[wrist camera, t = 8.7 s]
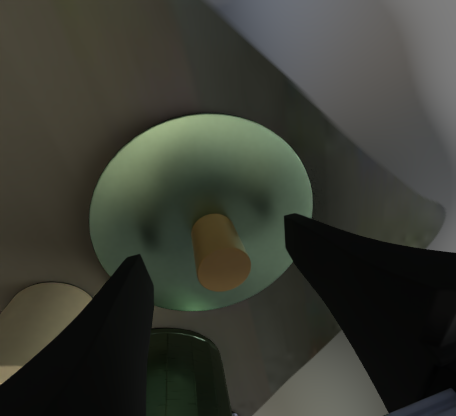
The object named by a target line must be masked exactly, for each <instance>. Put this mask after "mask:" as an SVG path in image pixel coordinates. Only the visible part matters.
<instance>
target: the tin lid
mask: <svg viewBox="0 0 456 416" xmlns="http://www.w3.org/2000/svg"><path fill="white" fill-rule="evenodd" d="M312 208H313V202H312V191H311V186H310V181H309V178H308V175H307V173H306V170H305V168H304V166H303V164H302V162H301V160H300V158H299V157H298V156H297V154H296V153H295V152H294V150H293V149H292V148H291V147H290V146H289V145H288V144H287V143H286V142H285V141H284V140H283V139H282V138H281V137H280V136H278V135H277V134H276V133H274V132H273V131H271V130H270V129H268V128H266V127H264V126H262V125H260V124H258V123H257V122H254V121H251V120H248V119H245V118H242V117H239V116H234V115H228V114H223V113H196V114H187V115H182V116H179V117H175V118H171V119H168V120H165V121H163V122H161V123H158V124H156V125H153V126H151V127H150V128H148V129H146V130H145V131H143V132H141V133H140V134H138V135H136V136H135V137H134V138H133V139H131V140H130V141H129V142H128V143H127V144H125V145H124V146H123V147H122V148H121V149H120V150H119V151H118V152H117V153H116V155H115V156H114V157H113V158H112V159H111V160H110V161H109V163H108V164H107V166H106V167H105V169H104V171H103V172H102V174H101V175H100V177H99V179H98V182H97V184H96V186H95V189H94V191H93V195H92V199H91V203H90V210H89V230H90V237H91V241H92V244H93V248H94V251H95V253H96V255H97V257H98V260H99V262H100V263H101V265H102V266H103V268H104V269H105V271H106V272H107V274H108V275H109V276H110V277H111V276H112V275H113V273H114V272H115V271H116V270H117V268H118V267H119V266H120V265H121V263H122V262H123V261H124V260H125V259H126V258H127V257H130V256H133V255H137V254H140V255H141V257H142V259H143V262H144V264H145V266H146V269H147V271H148V273H149V275H150V278H151V280H152V282H153V285H154V305H155V306H158V307H162V308H166V309H171V310H179V311H205V310H212V309H218V308H222V307H226V306H230V305H232V304H235V303H238V302H241V301H243V300H245V299H247V298H249V297H252V296H253V295H255V294H257V293H258V292H260V291H262V290H263V289H265V288H266V287H267V286H269V285H270V284H272V283H273V282H274V281H275V280H276V279H277V278H279V277H280V276H281V275H282V274H283V273H284V271H285V270H286V269H287V268H288V267H289V266H290V265H291V263H292V262H293V260H292V259H291V257H290V255H289V254H288V252H287V250H286V248H285V230H284V216H285V215H289V214H293V213H297V214H300V215H303V216H306V217H308V218H312Z"/></svg>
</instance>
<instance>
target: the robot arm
mask: <svg viewBox="0 0 456 416" xmlns="http://www.w3.org/2000/svg"><path fill="white" fill-rule="evenodd" d="M284 230H285V248H286V250H287V252H288V254H289V255H290V257H291V259H292V260H293V262H294V264H295V265H296V266H297V268H298V269H299V270H300V272H301V273H302V274H303V276H304V277H305V278H306V279H307V281H308V282H309V283H310V284H311V286H312V287H313V288H314V290H315V291H316V292H317V293H318V295H319V296H320V297H321V298H322V300H323V301H324V303H325V304H326V305H327V307H328V308H329V310H330V311H331V313H332V315H333V316H334V318H335V319H336V321H337V322H338V324H339V326H340V327H341V329H342V330H343V332H344V333H345V335H346V337H347V339H348V340H349V342H350V344H351V345H352V347H353V349H354V350H355V352H356V354H357V356H358V357H359V359H360V361H361V362H362V364H363V366H364V368H365V370H366V371H367V373H368V375H369V377H370V379H371V380H372V382H373V384H374V386H375V388H376V390H377V392H378V394H379V395H380V397H381V399H382V401H383V403H384V405H385V407H386V409H387V411H388V412H389V414H386V415H384V416H456V253H451V252H443V251H435V250H427V249H420V248H414V247H408V246H403V245H397V244H392V243H387V242H383V241H378V240H375V239H371V238H367V237H363V236H359V235H356V234H353V233H350V232H346V231H343V230H340V229H338V228H335V227H332V226H329V225H326V224H324V223H321V222H319V221H316V220H313V219H311V218H308V217H306V216H303V215H300V214H297V213H293V214H289V215H285V216H284ZM153 311H154V285H153V282H152V280H151V278H150V275H149V273H148V271H147V269H146V266H145V264H144V262H143V259H142V257H141V255H140V254H137V255H133V256H130V257H127V258H126V259H125V260H124V261H123V262H122V263H121V265H120V266H119V267H118V268H117V270H116V271H115V272H114V273H113V275H112V276H111V277H110V278H109V280H108V281H107V282H106V283H105V285H104V286H103V287H102V288H101V290H100V291H99V292H98V293H97V294H96V295H95V296H94V298H93V299H92V300H91V301H90V302H89V303H88V304H87V306H86V307H85V308H84V309H83V310H82V311H81V312H80V313H79V314H78V316H77V317H76V318H75V319H74V320H73V321H72V322H71V323H70V324H69V325H68V326H67V327H66V328H65V329H64V330H63V331H62V332H61V333H60V334H59V335H58V336H57V337H55V338H54V339H53V340H52V341H51V342H50V343H49V344H48V345H47V346H46V347H44V348H43V349H42V350H41V351H40V352H39V353H38V354H36V355H35V356H34V357H33V358H32V359H31V360H30V361H29V362H27V363H26V364H25V365H24V366H23V367H22V368H20V369H19V370H18V371H17V372H16V373H14V374H13V375H12V376H11V377H10V378H8V379H7V380H6V381H5V382H3V383H2V384H1V385H0V416H146V387H147V361H148V351H149V343H150V335H151V327H152V319H153ZM232 416H238V415H237V414H236V413H232Z"/></svg>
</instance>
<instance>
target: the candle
mask: <svg viewBox="0 0 456 416" xmlns="http://www.w3.org/2000/svg"><path fill="white" fill-rule="evenodd" d="M91 300H92V298H91V296H90V295H89V294H87V293H86V292H85V291H83V290H82V289H80V288H78V287H75V286H72V285H69V284H65V283H55V282H49V283H40V284H35V285H32V286H29V287H27V288H25V289H23V290H22V291H20V292H19V293H18V294H16V295H15V297H14V298H13V299H12V300H11V301H10V303H9V304H8V305H7V306H6V308H5V309H4V310H3V311H2V313H1V314H0V385H1V384H2V383H3V382H5V381H6V380H7V379H8V378H10V377H11V376H12V375H13V374H14V373H16V372H17V371H18V370H19V369H20V368H22V367H23V366H24V365H25V364H26V363H27V362H29V361H30V360H31V359H32V358H33V357H34V356H35V355H36V354H38V353H39V352H40V351H41V350H42V349H43V348H44V347H46V346H47V345H48V344H49V343H50V342H51V341H52V340H53V339H54V338H55V337H57V336H58V335H59V334H60V333H61V332H62V331H63V330H64V329H65V328H66V327H67V326H68V325H69V324H70V323H71V322H72V321H73V320H74V319H75V318H76V317H77V316H78V314H79V313H80V312H81V311H82V310H83V309H84V308H85V307H86V306H87V304H88V303H89V302H90V301H91Z"/></svg>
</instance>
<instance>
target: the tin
mask: <svg viewBox="0 0 456 416" xmlns="http://www.w3.org/2000/svg"><path fill="white" fill-rule="evenodd" d="M146 416H232V411H231V406H230V400H229V395H228V390H227V385H226V379H225V374H224V369H223V364H222V361H221V357H220V353H219V350H218V348H217V347H216V346H215V344H214V343H213V342H212V341H210V340H209V339H208V338H206V337H205V336H202V335H200V334H198V333H195V332H192V331H188V330H183V329H173V328H160V329H151V335H150V343H149V351H148V361H147V387H146Z"/></svg>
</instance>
